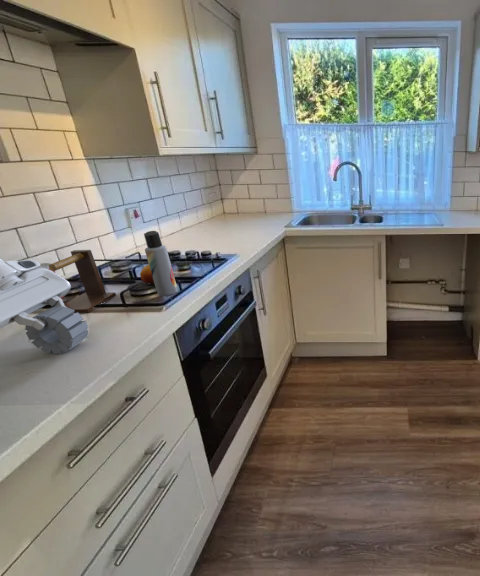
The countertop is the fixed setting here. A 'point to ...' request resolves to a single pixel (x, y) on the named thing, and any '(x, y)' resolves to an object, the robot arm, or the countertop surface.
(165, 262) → the lotion bottle
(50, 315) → the grey gear
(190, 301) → the countertop surface
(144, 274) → the fruit
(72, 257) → the hook stand
